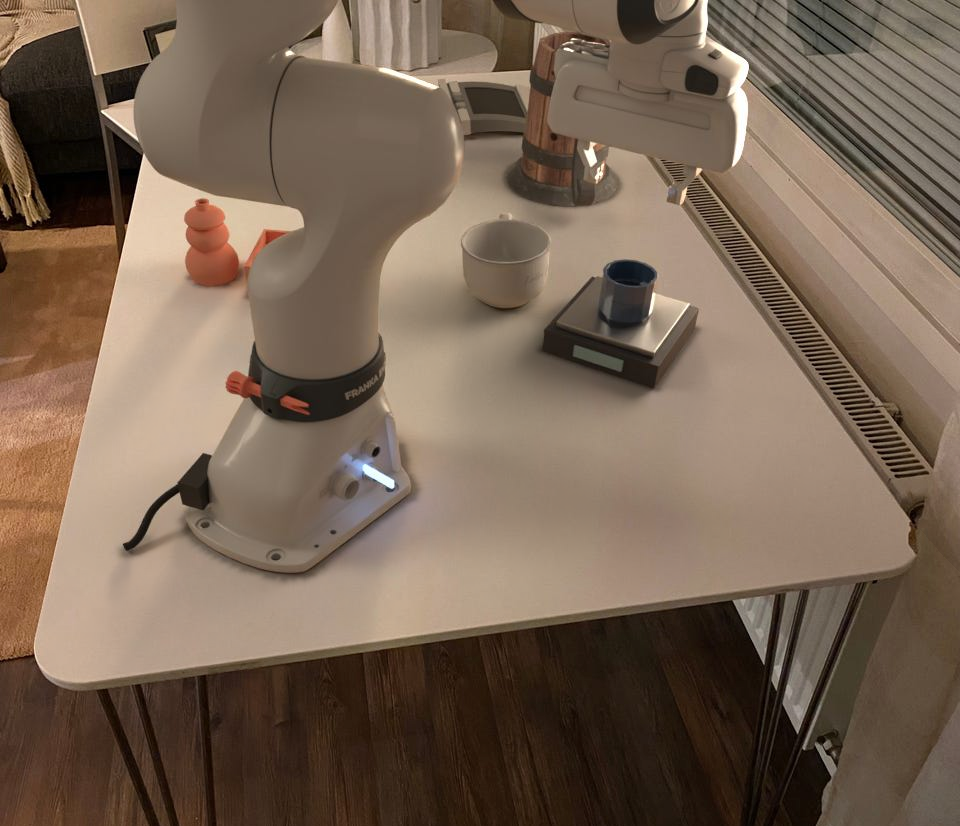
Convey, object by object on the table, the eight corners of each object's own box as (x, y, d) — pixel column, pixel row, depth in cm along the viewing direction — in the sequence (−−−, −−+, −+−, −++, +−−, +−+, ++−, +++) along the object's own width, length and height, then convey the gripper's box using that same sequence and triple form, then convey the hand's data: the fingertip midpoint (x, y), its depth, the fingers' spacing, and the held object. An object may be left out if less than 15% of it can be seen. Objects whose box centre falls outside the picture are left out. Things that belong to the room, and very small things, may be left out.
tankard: (498, 158, 152) (505, 22, 138) (602, 155, 154) (619, 22, 140) (524, 229, 135) (536, 83, 121) (641, 225, 137) (665, 81, 123)
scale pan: (653, 358, 107) (654, 352, 107) (555, 327, 111) (556, 321, 111) (688, 309, 115) (690, 303, 115) (596, 281, 119) (597, 275, 119)
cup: (639, 331, 110) (646, 293, 107) (589, 315, 112) (594, 277, 109) (658, 306, 114) (665, 268, 111) (609, 291, 116) (615, 254, 113)
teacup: (538, 324, 117) (543, 265, 112) (451, 311, 118) (452, 253, 113) (554, 268, 127) (560, 211, 122) (474, 257, 129) (476, 200, 123)
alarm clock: (437, 79, 166) (531, 70, 167) (439, 106, 169) (531, 97, 171) (449, 119, 154) (550, 109, 155) (451, 147, 157) (550, 137, 158)
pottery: (336, 264, 126) (331, 192, 119) (320, 302, 119) (314, 229, 112) (200, 253, 127) (187, 181, 120) (177, 290, 120) (162, 217, 113)
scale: (653, 389, 108) (657, 367, 106) (540, 352, 113) (542, 330, 111) (694, 329, 118) (699, 308, 116) (589, 297, 122) (592, 276, 120)
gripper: (544, 42, 95) (532, 178, 104) (746, 85, 88) (715, 226, 97) (570, 27, 99) (556, 159, 108) (765, 66, 92) (733, 203, 101)
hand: (633, 191), depth 103 cm, fingers open, 8 cm apart
